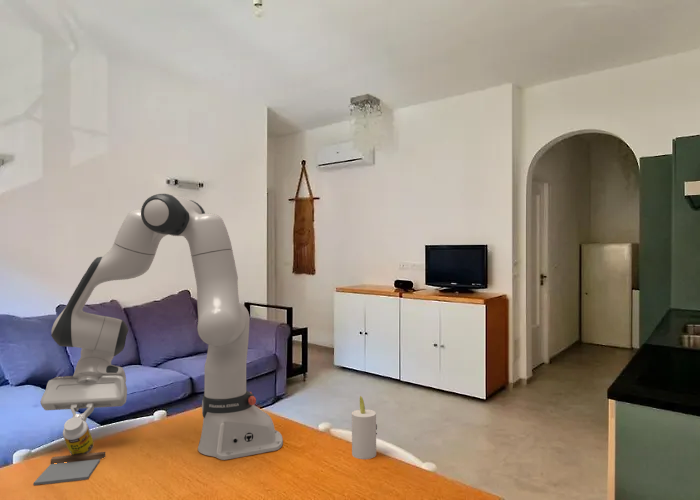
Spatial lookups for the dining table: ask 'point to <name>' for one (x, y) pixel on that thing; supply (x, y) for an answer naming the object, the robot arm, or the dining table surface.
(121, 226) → the robot arm
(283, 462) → the dining table surface
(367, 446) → the candle
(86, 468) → the felt tile
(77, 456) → the strip
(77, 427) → the supplement bottle
